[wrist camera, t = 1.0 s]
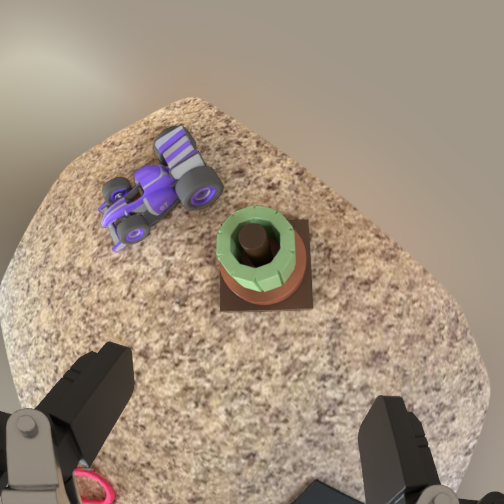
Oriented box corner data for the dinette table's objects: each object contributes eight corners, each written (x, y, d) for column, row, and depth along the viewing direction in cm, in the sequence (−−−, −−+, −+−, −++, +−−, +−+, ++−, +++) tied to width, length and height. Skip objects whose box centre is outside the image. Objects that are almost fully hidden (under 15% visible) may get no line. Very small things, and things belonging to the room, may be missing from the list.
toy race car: (99, 203, 38) (70, 182, 32) (193, 140, 38) (177, 109, 32) (121, 263, 35) (89, 248, 29) (228, 194, 35) (214, 165, 29)
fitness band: (105, 467, 29) (98, 470, 27) (122, 504, 27) (117, 509, 25) (63, 467, 29) (57, 470, 27) (79, 502, 27) (73, 506, 26)
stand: (307, 224, 33) (310, 176, 23) (312, 309, 31) (319, 296, 21) (224, 229, 34) (195, 185, 24) (223, 312, 32) (189, 300, 22)
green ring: (293, 224, 29) (292, 202, 24) (296, 290, 28) (296, 280, 23) (230, 228, 30) (217, 207, 25) (229, 293, 28) (215, 283, 24)
